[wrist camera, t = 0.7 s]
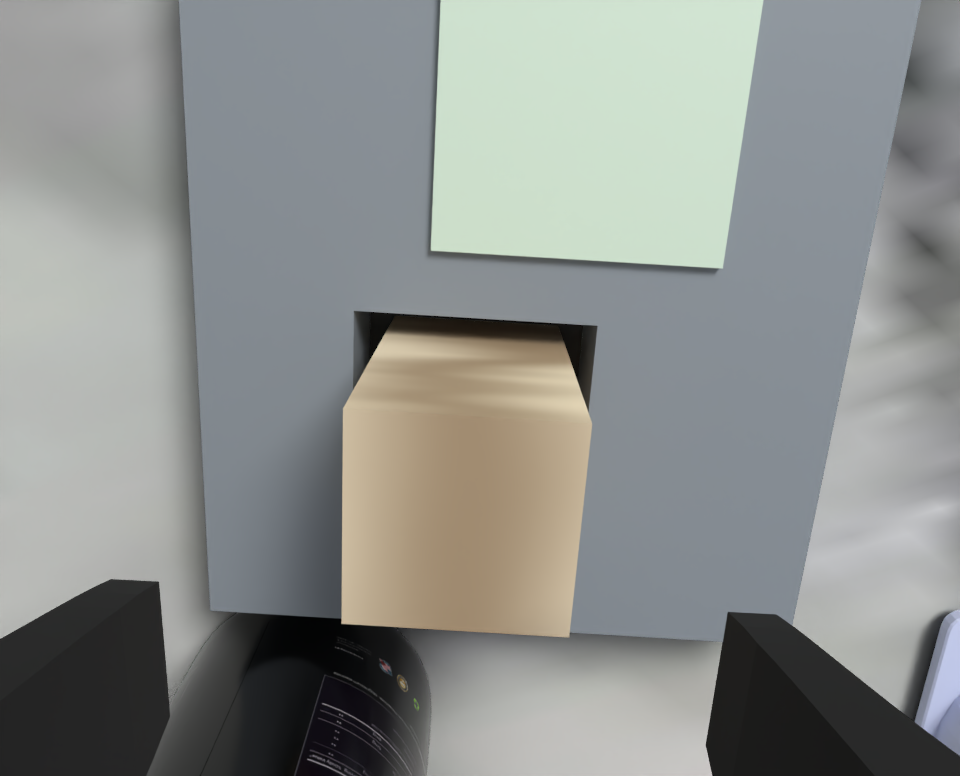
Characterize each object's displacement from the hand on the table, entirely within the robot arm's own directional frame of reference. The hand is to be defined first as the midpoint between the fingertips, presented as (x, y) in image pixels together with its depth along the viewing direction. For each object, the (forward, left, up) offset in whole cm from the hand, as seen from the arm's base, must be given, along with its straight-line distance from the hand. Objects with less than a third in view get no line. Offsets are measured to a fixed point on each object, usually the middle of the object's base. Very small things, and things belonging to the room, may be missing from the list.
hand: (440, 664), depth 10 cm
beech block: (0, 0, -10) cm, 10 cm away
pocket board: (-1, -3, -10) cm, 11 cm away
